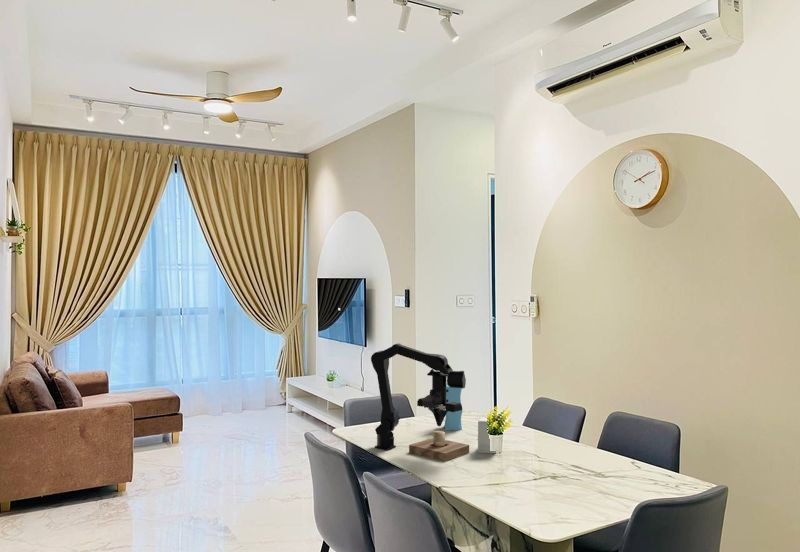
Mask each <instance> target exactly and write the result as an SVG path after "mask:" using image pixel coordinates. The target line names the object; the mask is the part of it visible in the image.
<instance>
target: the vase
mask: <svg viewBox="0 0 800 552" xmlns="http://www.w3.org/2000/svg"><path fill="white" fill-rule="evenodd" d="M446 389H448V392H446V399H448V402H447V403H451V402H457V403H461V404H462V400H461V394H462V390H463V388H450V386H448V385H447V383H446ZM462 414H463V409H462V410H460V411H456V412H449V411H448V412H447V414H446V415H445V418H444V419H445V420H444V428H445V431H463V427H462Z"/></svg>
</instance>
